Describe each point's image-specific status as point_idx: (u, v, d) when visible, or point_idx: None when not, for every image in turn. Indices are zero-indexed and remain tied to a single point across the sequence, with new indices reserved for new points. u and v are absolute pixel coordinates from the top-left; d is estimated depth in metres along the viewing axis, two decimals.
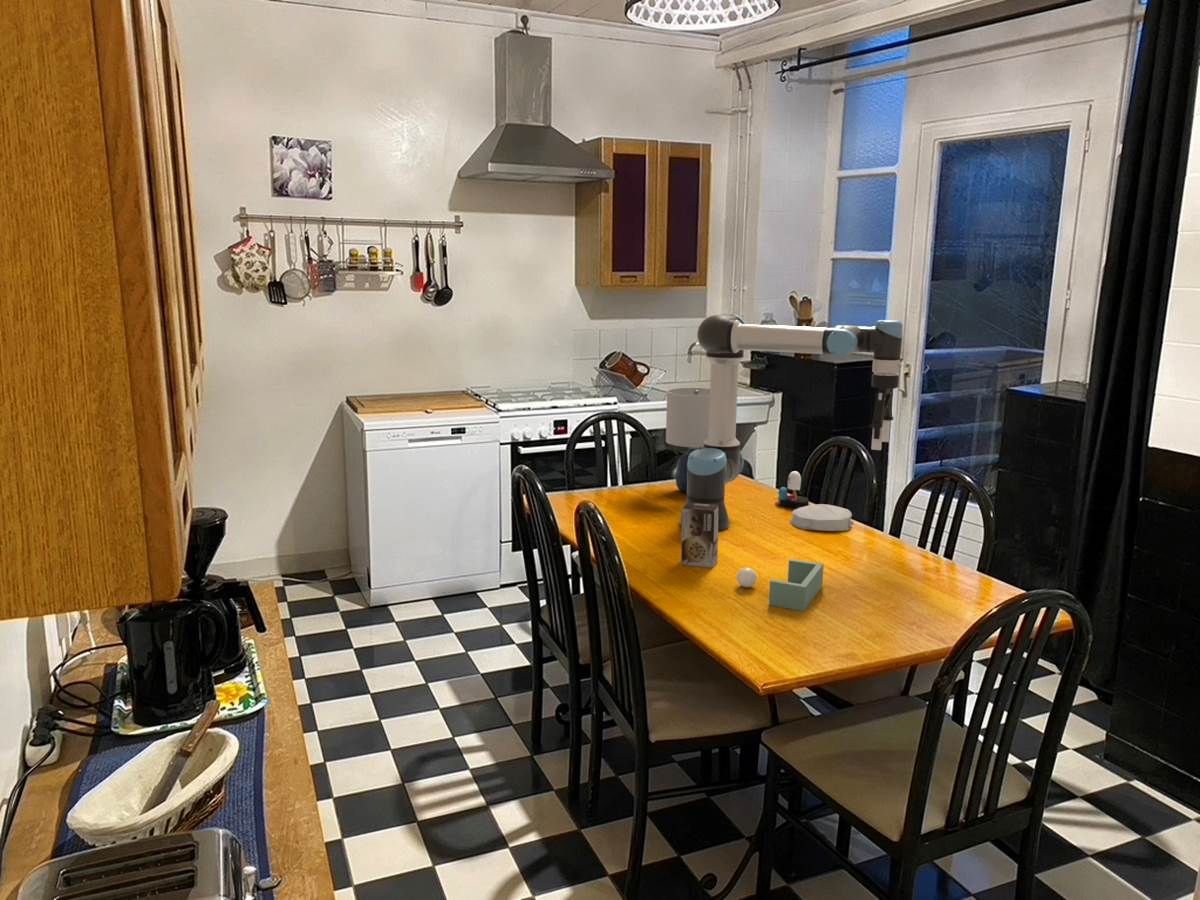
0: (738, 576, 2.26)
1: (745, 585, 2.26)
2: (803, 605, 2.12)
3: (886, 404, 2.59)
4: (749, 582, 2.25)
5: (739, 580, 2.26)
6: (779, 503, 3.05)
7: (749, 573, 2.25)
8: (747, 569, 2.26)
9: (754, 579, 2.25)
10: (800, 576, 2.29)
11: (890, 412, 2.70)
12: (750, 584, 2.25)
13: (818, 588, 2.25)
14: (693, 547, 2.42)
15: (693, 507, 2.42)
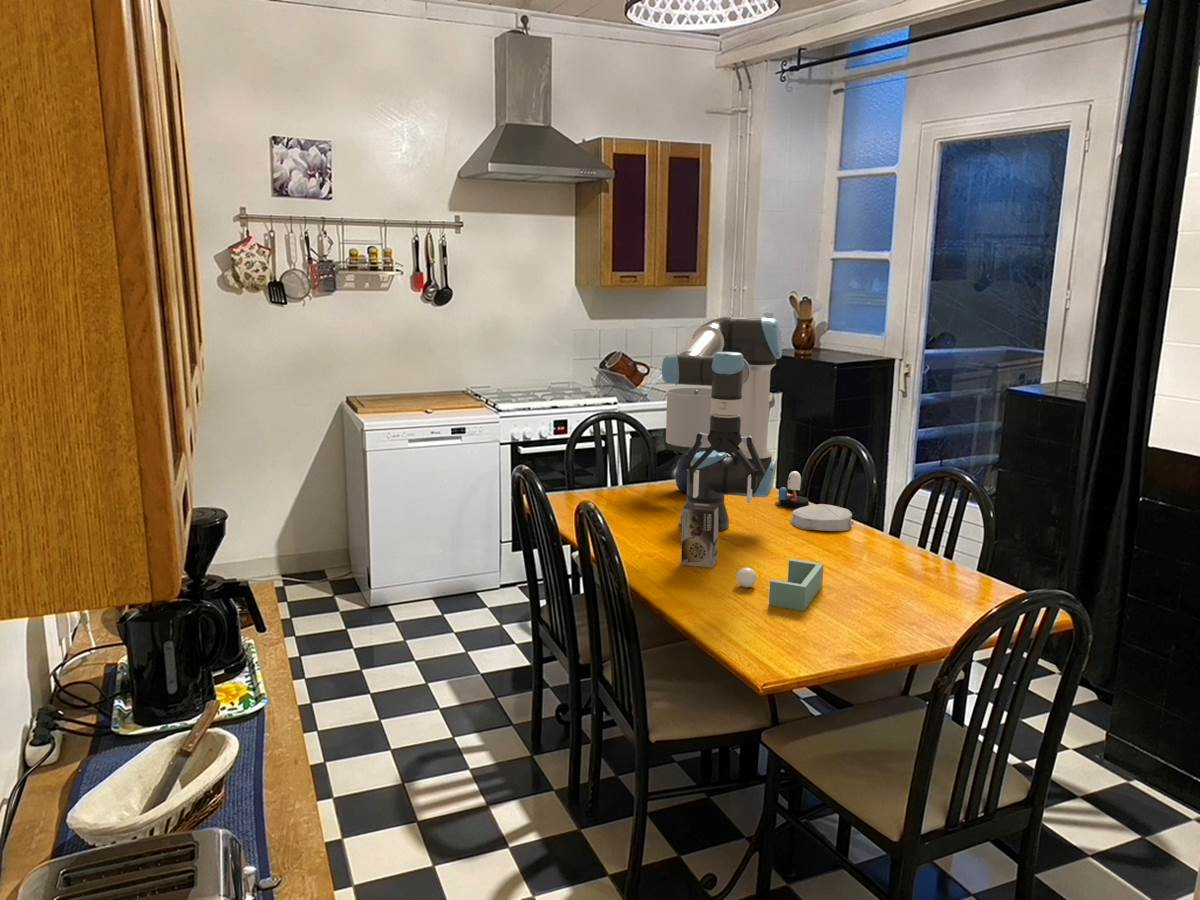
0: (738, 576, 2.26)
1: (745, 585, 2.26)
2: (803, 605, 2.12)
3: (708, 448, 2.23)
4: (749, 582, 2.25)
5: (739, 580, 2.26)
6: (779, 503, 3.05)
7: (749, 573, 2.25)
8: (747, 569, 2.26)
9: (754, 579, 2.25)
10: (800, 576, 2.29)
11: (750, 467, 2.21)
12: (750, 584, 2.25)
13: (818, 588, 2.25)
14: (693, 547, 2.42)
15: (693, 507, 2.42)
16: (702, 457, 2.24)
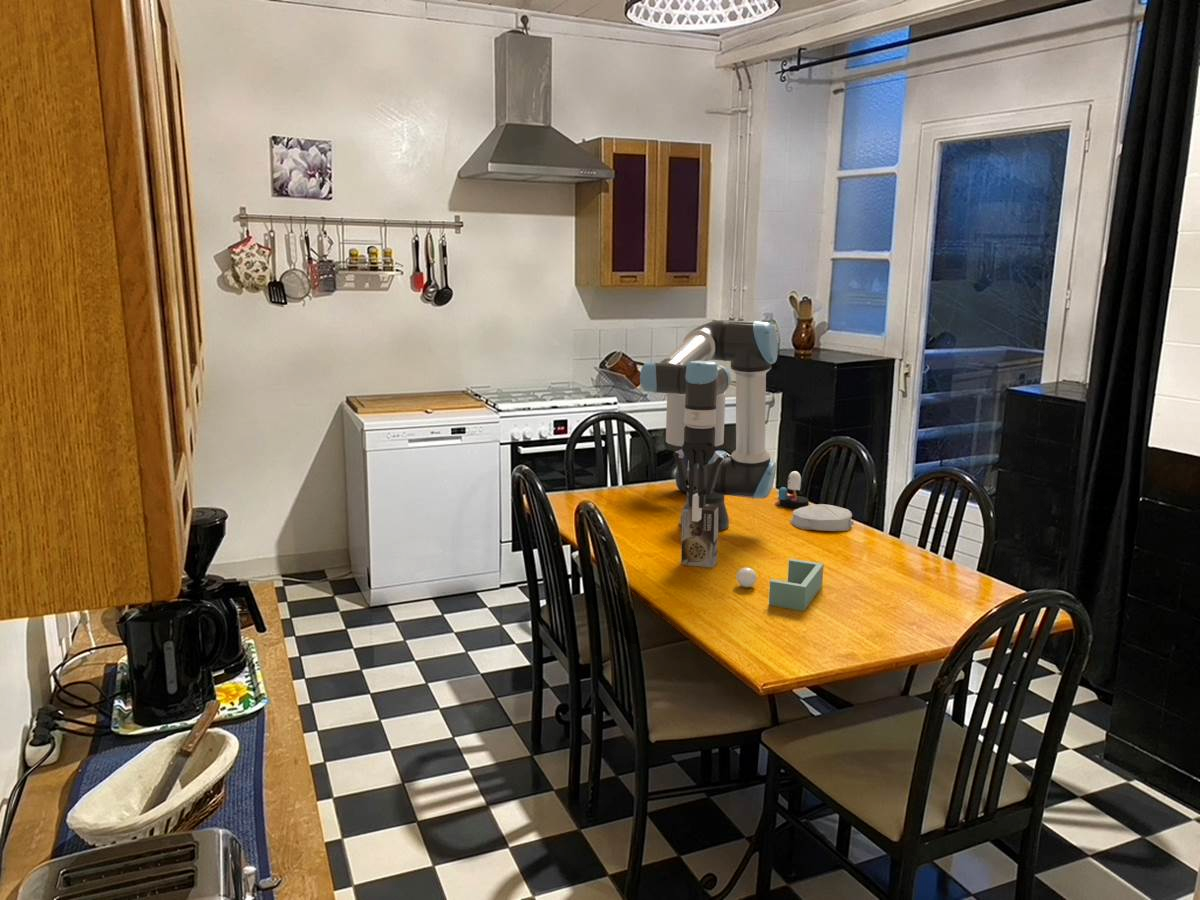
0: (738, 576, 2.26)
1: (745, 585, 2.26)
2: (803, 605, 2.12)
3: (688, 464, 2.18)
4: (749, 582, 2.25)
5: (739, 580, 2.26)
6: (779, 503, 3.05)
7: (749, 573, 2.25)
8: (747, 569, 2.26)
9: (754, 579, 2.25)
10: (800, 576, 2.29)
11: (703, 485, 2.18)
12: (750, 584, 2.25)
13: (818, 588, 2.25)
14: (693, 547, 2.42)
15: None
16: (690, 475, 2.19)
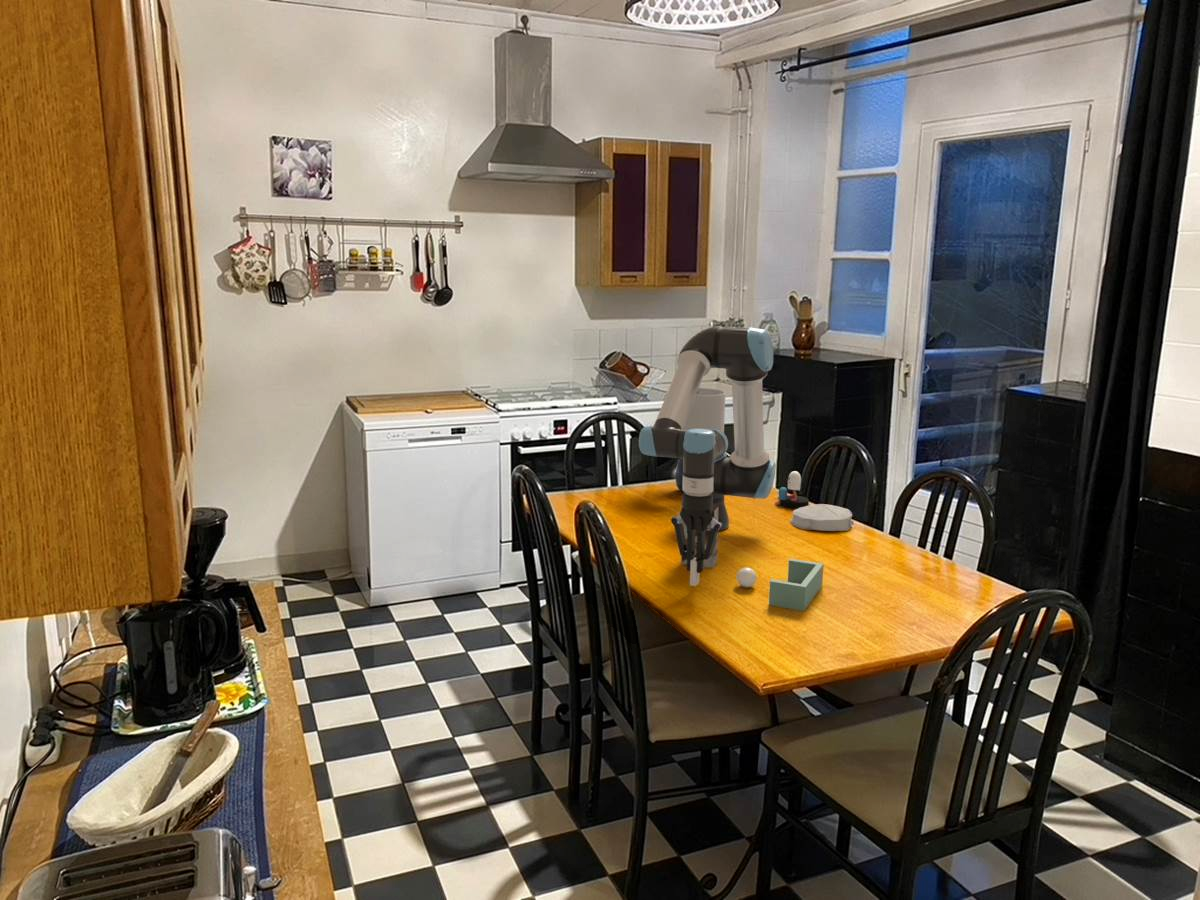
0: (738, 576, 2.26)
1: (745, 585, 2.26)
2: (803, 605, 2.12)
3: (687, 530, 2.22)
4: (749, 582, 2.25)
5: (739, 580, 2.26)
6: (779, 503, 3.05)
7: (749, 573, 2.25)
8: (747, 569, 2.26)
9: (754, 579, 2.25)
10: (800, 576, 2.29)
11: (700, 551, 2.22)
12: (750, 584, 2.25)
13: (818, 588, 2.25)
14: None
15: None
16: (688, 541, 2.23)
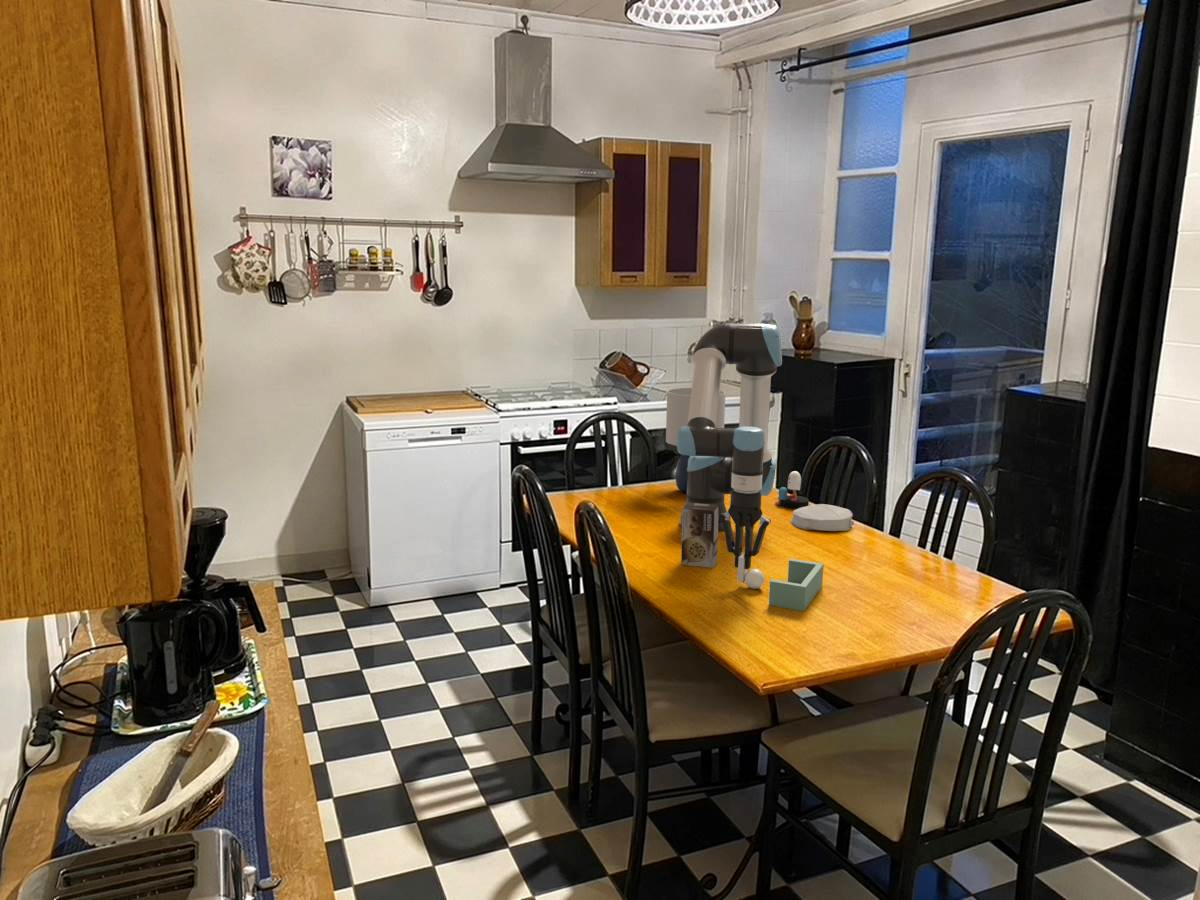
0: (747, 576, 2.25)
1: (751, 586, 2.25)
2: (803, 605, 2.12)
3: (735, 527, 2.24)
4: (756, 585, 2.24)
5: (747, 580, 2.25)
6: (779, 503, 3.05)
7: (759, 577, 2.24)
8: (758, 572, 2.25)
9: (761, 584, 2.25)
10: (800, 576, 2.29)
11: (749, 548, 2.24)
12: (756, 587, 2.25)
13: (818, 588, 2.25)
14: (693, 547, 2.42)
15: (693, 507, 2.42)
16: (737, 537, 2.25)
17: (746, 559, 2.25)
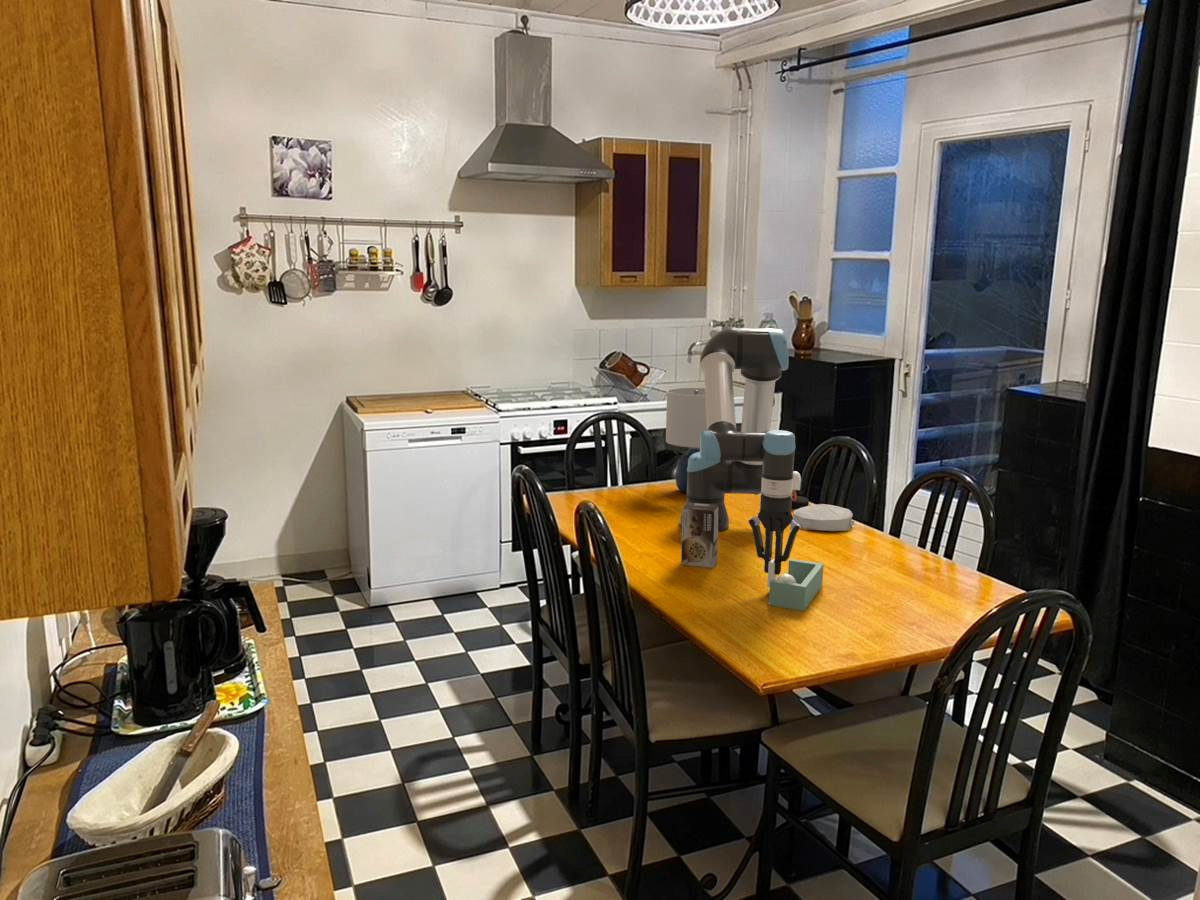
0: (788, 580, 2.21)
1: None
2: (803, 605, 2.12)
3: (765, 532, 2.21)
4: None
5: None
6: None
7: None
8: None
9: None
10: (800, 576, 2.29)
11: (779, 553, 2.21)
12: None
13: (818, 588, 2.25)
14: (693, 547, 2.42)
15: (693, 507, 2.42)
16: (767, 542, 2.22)
17: (776, 564, 2.22)
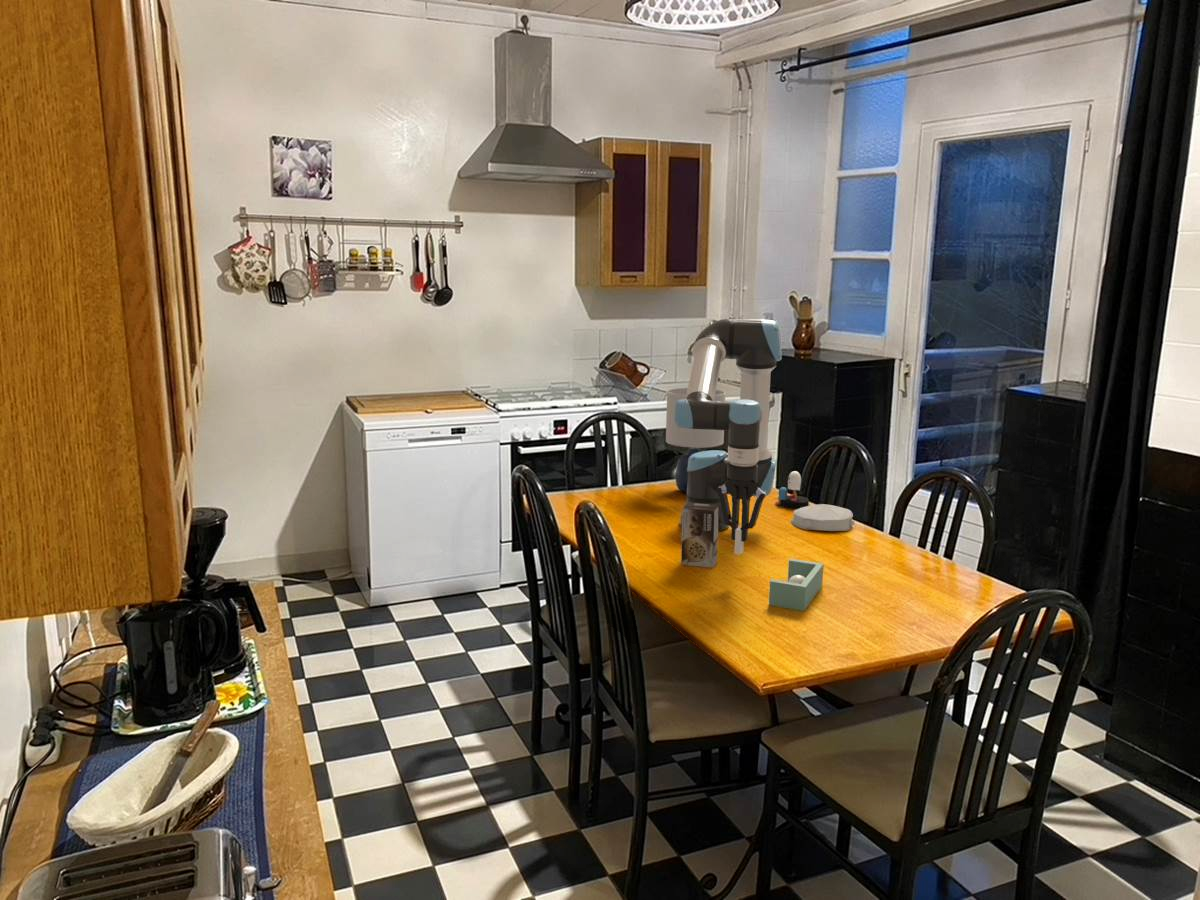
0: None
1: (795, 580, 2.21)
2: (803, 605, 2.12)
3: None
4: None
5: None
6: (779, 503, 3.05)
7: None
8: None
9: None
10: None
11: (745, 520, 2.25)
12: (791, 581, 2.21)
13: (818, 588, 2.25)
14: (693, 547, 2.42)
15: (693, 507, 2.42)
16: (733, 510, 2.26)
17: (743, 532, 2.27)
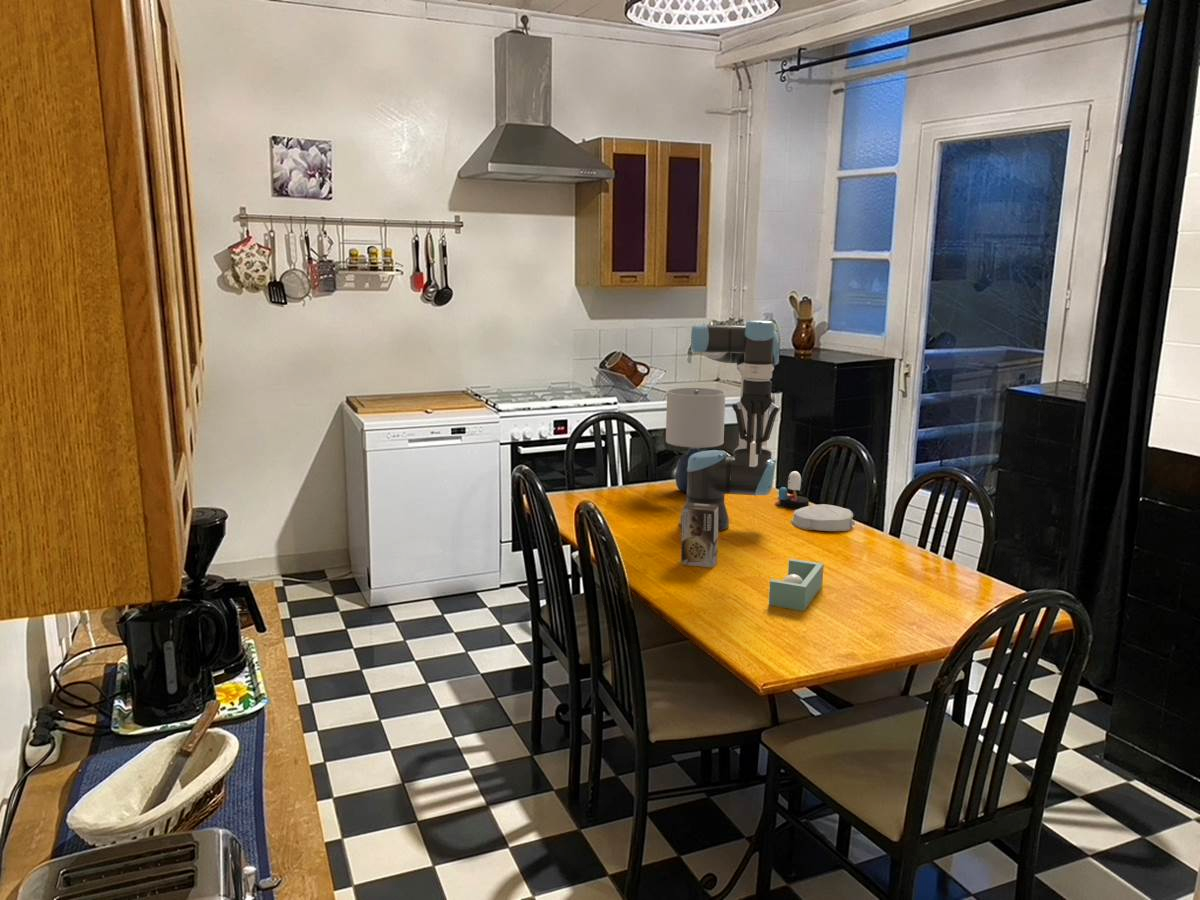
0: None
1: (788, 580, 2.21)
2: (803, 605, 2.12)
3: (747, 414, 2.41)
4: None
5: (795, 581, 2.21)
6: (779, 503, 3.05)
7: None
8: None
9: None
10: (800, 576, 2.29)
11: (760, 434, 2.41)
12: None
13: (818, 588, 2.25)
14: (693, 547, 2.42)
15: (693, 507, 2.42)
16: (748, 424, 2.42)
17: (757, 445, 2.42)
